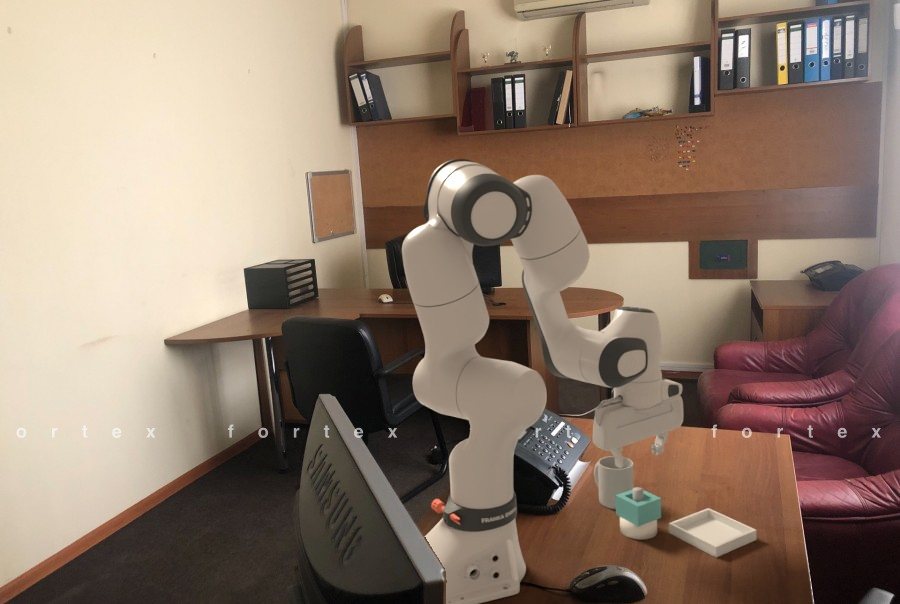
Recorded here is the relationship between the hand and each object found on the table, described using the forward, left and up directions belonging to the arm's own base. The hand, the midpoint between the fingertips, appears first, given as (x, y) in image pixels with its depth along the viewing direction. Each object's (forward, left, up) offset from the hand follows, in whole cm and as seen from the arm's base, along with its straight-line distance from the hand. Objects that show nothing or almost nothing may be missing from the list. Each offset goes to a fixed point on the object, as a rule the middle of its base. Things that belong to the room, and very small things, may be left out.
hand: (639, 459), depth 132 cm
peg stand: (-1, 0, -14) cm, 14 cm away
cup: (+4, +13, -15) cm, 20 cm away
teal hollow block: (-1, 0, -11) cm, 11 cm away
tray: (+9, -10, -14) cm, 19 cm away
